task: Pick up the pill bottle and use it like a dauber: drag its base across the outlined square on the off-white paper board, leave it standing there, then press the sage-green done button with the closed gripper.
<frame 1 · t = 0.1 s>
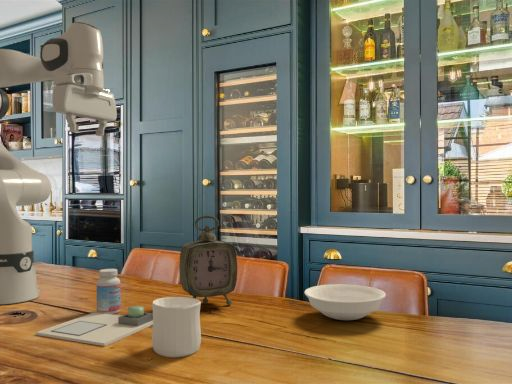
hand: (87, 134, 125), 48 cm above the table, fingers open, 8 cm apart
tabletop clock: (207, 306, 127), on the table
paper board: (98, 328, 107), on the table
bowl: (344, 318, 113), on the table
done button: (136, 312, 110), point 3 cm above the table, slide at 0.0 cm
pill bottle: (108, 313, 121), on the table
cup: (176, 350, 92), on the table
button housing: (136, 324, 110), resting on paper board
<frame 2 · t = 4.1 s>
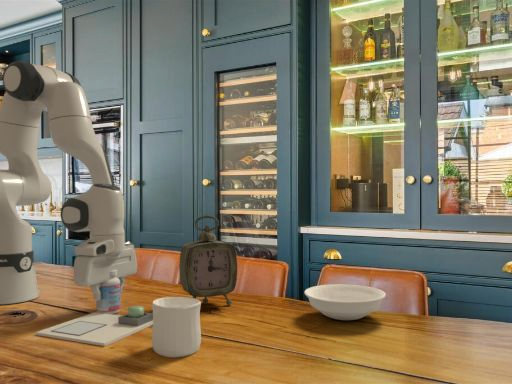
hand: (108, 296, 121), 4 cm above the table, fingers closed on pill bottle, 6 cm apart
pill bottle: (108, 313, 121), on the table, touching gripper
everything else where it was.
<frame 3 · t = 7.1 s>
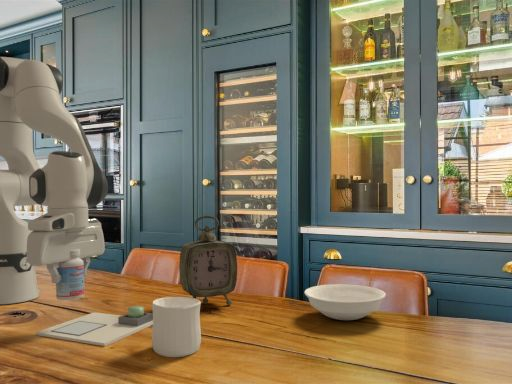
hand: (69, 279, 107), 12 cm above the table, fingers closed on pill bottle, 6 cm apart
pill bottle: (70, 298, 106), point 7 cm above the table, touching gripper
everything else where it was.
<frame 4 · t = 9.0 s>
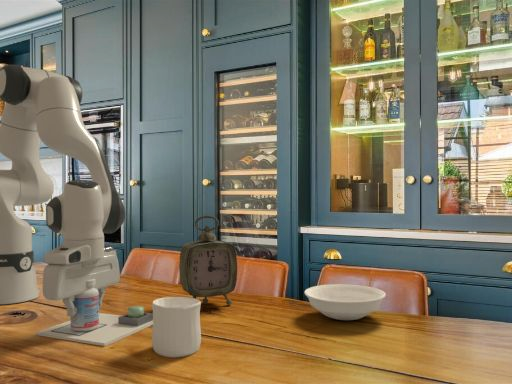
hand: (85, 311, 105), 5 cm above the table, fingers closed on pill bottle, 6 cm apart
pill bottle: (85, 328, 105), point 1 cm above the table, touching gripper
everything else where it was.
when the fingers open (5 cm above the table, at t = 10.4 s): pill bottle stays where it is, resting on paper board.
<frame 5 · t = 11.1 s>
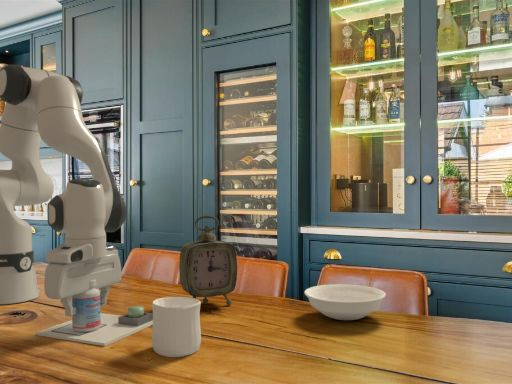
hand: (86, 310, 105), 5 cm above the table, fingers open, 8 cm apart
pill bottle: (86, 329, 105), point 1 cm above the table, touching paper board
everything else where it was.
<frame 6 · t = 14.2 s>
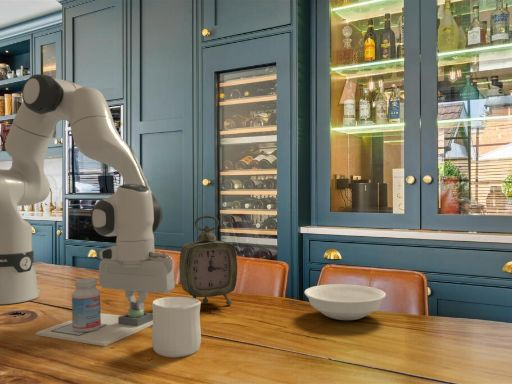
hand: (136, 308, 110), 4 cm above the table, fingers closed, pressing on done button
done button: (136, 314, 110), point 2 cm above the table, slide at -0.3 cm, touching gripper
everything else where it was.
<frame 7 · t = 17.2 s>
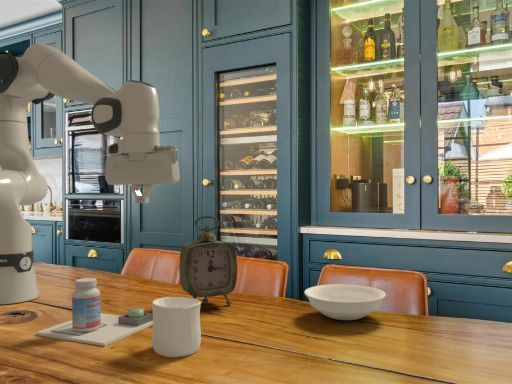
hand: (142, 203, 113), 29 cm above the table, fingers closed
done button: (136, 315, 110), point 2 cm above the table, slide at -0.5 cm
everything else where it was.
at the end: pill bottle inside the target area (0.6 cm from its centre), point 0.5 cm above the table; pill bottle tilted 0°; done button slide at -0.5 cm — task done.
